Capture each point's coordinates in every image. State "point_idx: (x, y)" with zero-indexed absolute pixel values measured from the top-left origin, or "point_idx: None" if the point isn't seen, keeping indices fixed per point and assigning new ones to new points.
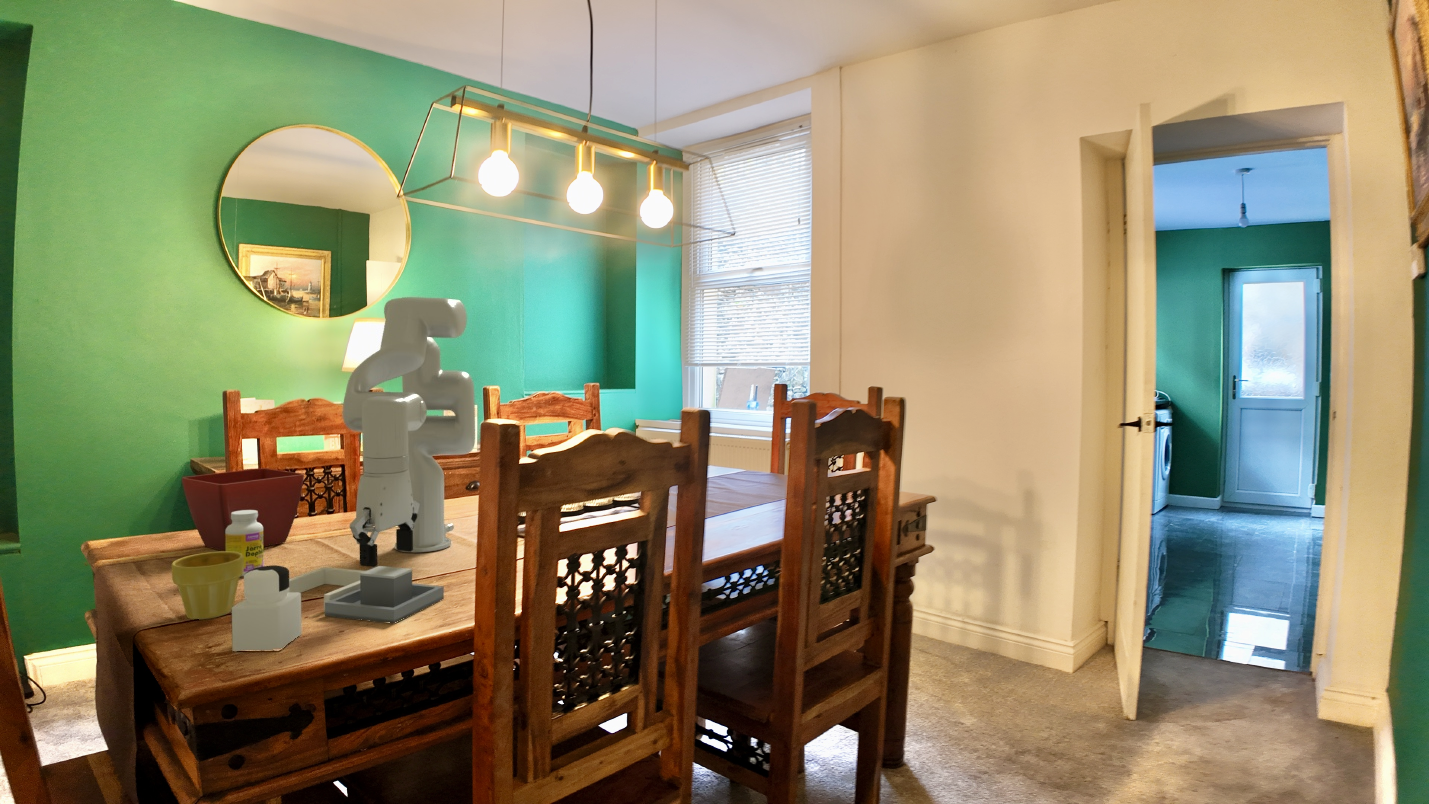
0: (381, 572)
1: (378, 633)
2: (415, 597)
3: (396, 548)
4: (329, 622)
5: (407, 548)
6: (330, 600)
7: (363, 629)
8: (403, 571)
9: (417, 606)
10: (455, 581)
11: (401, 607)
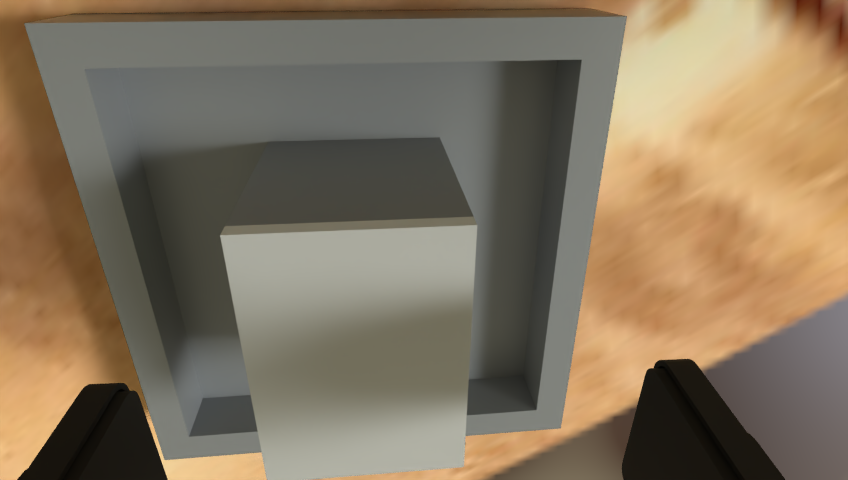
0: (315, 361)
1: None
2: None
3: (653, 373)
4: (20, 128)
5: (633, 476)
6: (81, 28)
7: (62, 346)
8: (393, 460)
9: None
10: (820, 274)
11: (221, 452)
